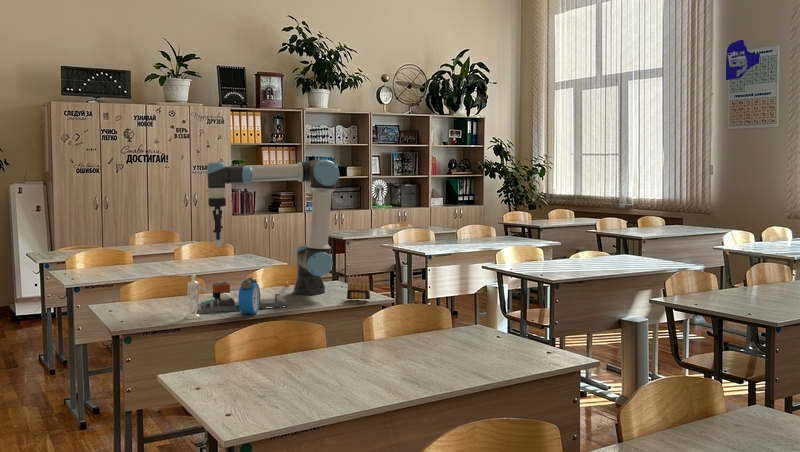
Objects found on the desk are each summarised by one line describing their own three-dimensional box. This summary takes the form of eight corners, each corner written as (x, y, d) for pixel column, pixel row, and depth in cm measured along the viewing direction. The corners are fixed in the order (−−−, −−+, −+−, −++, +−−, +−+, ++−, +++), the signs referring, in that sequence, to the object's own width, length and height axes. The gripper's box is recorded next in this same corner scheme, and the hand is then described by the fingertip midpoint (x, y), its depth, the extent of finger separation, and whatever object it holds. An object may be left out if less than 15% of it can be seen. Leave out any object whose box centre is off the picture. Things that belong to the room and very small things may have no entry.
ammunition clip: (346, 300, 341) (346, 274, 339) (348, 299, 342) (348, 274, 341) (369, 301, 338) (369, 275, 337) (370, 300, 340) (370, 275, 339)
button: (230, 299, 323) (229, 292, 322) (231, 301, 318) (231, 294, 318) (219, 299, 321) (219, 293, 321) (221, 301, 317) (221, 295, 317)
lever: (281, 298, 330) (289, 282, 331) (282, 299, 328) (291, 283, 328) (276, 296, 329) (284, 280, 330) (277, 297, 327) (286, 281, 327)
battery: (230, 303, 332) (230, 282, 331) (215, 305, 329) (215, 283, 327) (227, 302, 336) (226, 280, 335) (212, 303, 332) (212, 281, 331)
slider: (259, 298, 328) (259, 292, 328) (260, 299, 326) (260, 293, 326) (255, 299, 328) (255, 292, 327) (256, 300, 326) (256, 293, 325)
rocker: (214, 300, 320) (214, 297, 319) (215, 301, 317) (215, 298, 316) (200, 303, 318) (200, 301, 317) (201, 305, 315) (201, 302, 314)
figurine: (205, 315, 309) (203, 272, 308) (206, 318, 303) (205, 275, 301) (184, 316, 307) (183, 274, 305) (185, 320, 300) (183, 276, 298)
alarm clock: (252, 317, 306) (251, 281, 304) (237, 317, 306) (237, 281, 305) (260, 310, 319) (260, 276, 317) (246, 310, 319) (246, 276, 318)
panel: (282, 303, 334) (282, 292, 333) (287, 307, 325) (287, 296, 325) (198, 309, 320) (198, 298, 320) (201, 313, 312) (200, 302, 311)
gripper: (209, 195, 337) (210, 241, 339) (207, 199, 312) (209, 249, 315) (225, 195, 338) (227, 241, 340) (225, 199, 314) (227, 248, 316)
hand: (218, 245), depth 328 cm, fingers open, 13 cm apart
